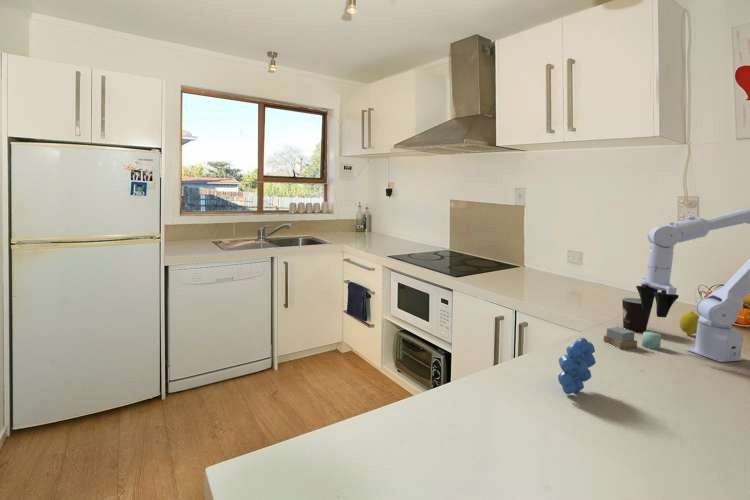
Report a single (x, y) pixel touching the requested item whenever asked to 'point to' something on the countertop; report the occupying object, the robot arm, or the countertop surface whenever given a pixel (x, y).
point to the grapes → (576, 366)
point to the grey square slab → (620, 334)
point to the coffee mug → (634, 315)
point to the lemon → (689, 323)
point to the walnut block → (620, 343)
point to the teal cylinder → (651, 340)
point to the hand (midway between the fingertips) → (653, 313)
